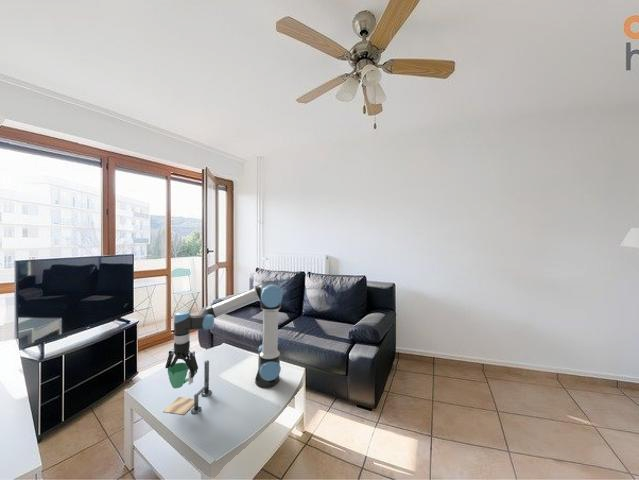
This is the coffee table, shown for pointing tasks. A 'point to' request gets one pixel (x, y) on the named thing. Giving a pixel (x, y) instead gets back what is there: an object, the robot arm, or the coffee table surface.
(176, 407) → the coaster
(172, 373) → the mug
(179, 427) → the coffee table surface
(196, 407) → the metal wall bracket
